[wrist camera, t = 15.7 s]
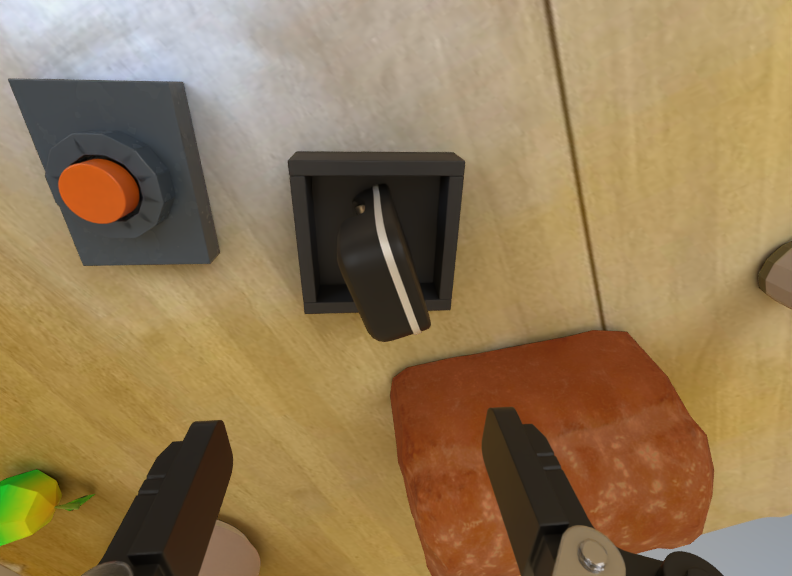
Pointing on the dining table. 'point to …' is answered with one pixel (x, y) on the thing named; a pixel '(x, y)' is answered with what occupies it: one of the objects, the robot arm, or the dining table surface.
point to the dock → (415, 204)
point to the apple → (29, 504)
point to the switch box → (126, 165)
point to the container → (229, 553)
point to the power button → (99, 190)
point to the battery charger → (381, 268)
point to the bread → (568, 437)
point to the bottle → (778, 275)
